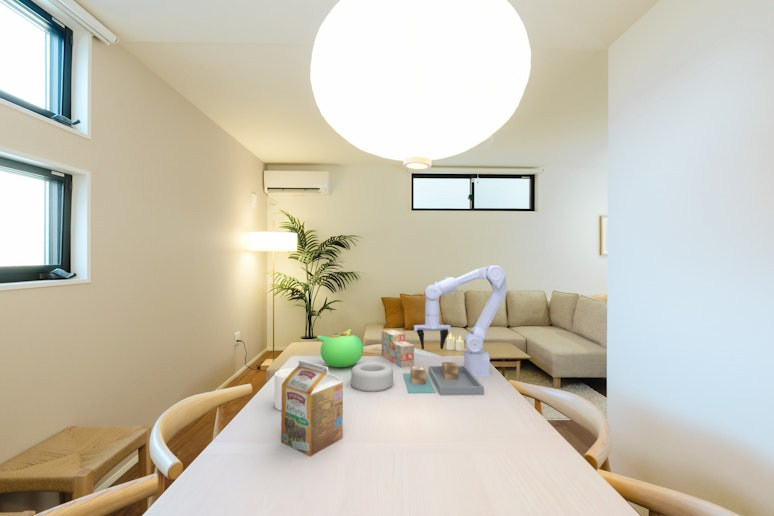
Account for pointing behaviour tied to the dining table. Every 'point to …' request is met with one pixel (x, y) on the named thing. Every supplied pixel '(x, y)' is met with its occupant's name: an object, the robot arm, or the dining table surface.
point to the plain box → (449, 370)
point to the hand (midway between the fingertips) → (432, 348)
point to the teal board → (418, 388)
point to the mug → (280, 386)
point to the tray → (456, 382)
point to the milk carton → (311, 409)
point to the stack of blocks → (397, 348)
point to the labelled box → (418, 375)
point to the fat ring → (372, 376)
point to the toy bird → (341, 349)
